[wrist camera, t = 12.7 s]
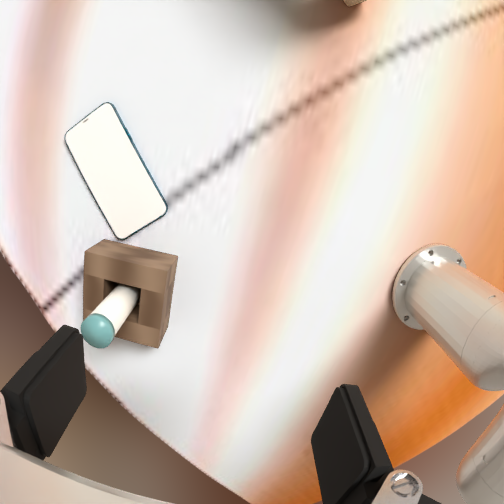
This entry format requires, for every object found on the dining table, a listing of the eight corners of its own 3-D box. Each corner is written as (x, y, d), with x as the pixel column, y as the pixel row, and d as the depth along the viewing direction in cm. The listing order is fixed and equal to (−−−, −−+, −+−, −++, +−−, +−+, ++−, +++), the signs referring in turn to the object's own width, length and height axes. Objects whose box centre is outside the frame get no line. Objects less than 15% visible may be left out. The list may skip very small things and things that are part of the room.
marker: (146, 278, 38) (111, 322, 27) (143, 302, 39) (111, 352, 28) (121, 272, 38) (80, 313, 26) (120, 296, 39) (81, 343, 27)
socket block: (178, 256, 39) (167, 271, 33) (168, 326, 41) (158, 348, 36) (104, 239, 38) (84, 251, 33) (100, 308, 41) (83, 327, 35)
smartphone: (172, 209, 38) (112, 99, 33) (170, 211, 37) (109, 98, 32) (121, 240, 38) (65, 136, 34) (118, 242, 38) (61, 135, 33)
